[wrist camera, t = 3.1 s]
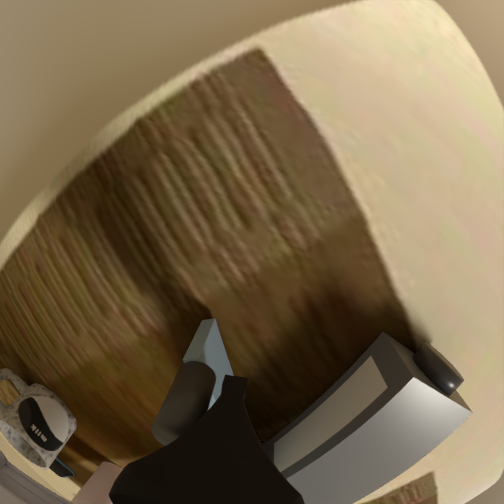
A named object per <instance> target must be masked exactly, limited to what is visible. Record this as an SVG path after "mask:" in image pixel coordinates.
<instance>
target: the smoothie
mask: <svg viewBox="0 0 504 504" xmlns="http://www.w3.org/2000/svg"><path fill="white" fill-rule="evenodd" d="M122 470H123V469H122V468H121V467H119V466H117V465H115V464H113V463H110V462H102V463H101V465H100V466H99V467H98V468H97V470H96V471H95V472H94V473H93V475H92V476H91V477H90V478H89V480H88V481H87V482H86V483H85V485H84V486H83V487H82V488H81V490H80V491H79V492H78V493H77V495H76V496H75V497H74V498H73V499H72V501H71V502H72V503H73V504H113V503H112V502H111V500H110V498H109V495H108V494H109V492H110V490H111V488H112V486H113V483H114V481H115V480H116V478H117V477H118V475H119V474H120V473H121V471H122Z"/></svg>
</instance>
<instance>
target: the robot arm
mask: <svg viewBox="0 0 504 504" xmlns="http://www.w3.org/2000/svg"><path fill="white" fill-rule="evenodd" d="M247 379H248V378H244V377H238V376H232V375H226V374H225V377H224V380H223V383H222V389H221V395H220V396H219V397H218V399H217V400H216V401H215V403H214V404H213V405H212V406H211V408H210V409H209V410H208V411H207V412H206V413H205V414H204V415H203V416H202V417H201V418H200V419H199V420H198V421H197V422H196V423H195V424H194V425H193V426H192V427H191V428H190V429H188V430H187V431H186V432H185V433H183V434H182V435H181V436H179V437H178V438H177V439H175V440H174V441H172V442H171V443H169V444H168V445H166V446H164V447H163V448H161V449H159V450H157V451H156V452H154V453H152V454H150V455H148V456H146V457H143V458H141V459H139V460H136V461H134V462H131V463H129V464H128V465H127V466H126V467H125V468H124V469H123V470H122V471H121V473H120V474H119V475H118V477H117V478H116V480H115V481H114V483H113V486H112V488H111V490H110V492H109V494H108V495H109V498H110V500H111V502H112V503H113V504H305V503H304V500H303V497H302V495H301V494H300V493H299V492H298V491H297V490H296V489H295V488H294V487H293V486H292V485H291V484H290V483H289V482H288V481H287V480H286V478H285V477H284V476H283V475H282V474H281V472H280V471H279V470H278V469H277V467H276V466H275V464H274V463H273V462H272V460H271V459H270V457H269V456H268V454H267V453H266V451H265V449H264V448H263V446H262V444H261V442H260V440H259V438H258V436H257V434H256V432H255V430H254V428H253V425H252V423H251V420H250V417H249V415H248V411H247V408H246V405H245V401H244V399H245V394H246V388H247ZM0 504H73V503H72V502H70V501H68V500H66V499H64V498H63V497H61V496H59V495H57V494H56V493H54V492H52V491H51V490H49V489H47V488H46V487H44V486H43V485H41V484H39V483H38V482H36V481H35V480H33V479H32V478H30V477H29V476H27V475H26V474H25V473H23V472H22V471H20V470H19V469H18V468H16V467H15V466H14V465H12V464H11V463H10V462H8V461H7V459H6V457H5V456H4V454H3V453H2V452H1V451H0Z"/></svg>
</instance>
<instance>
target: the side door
mask: <svg viewBox="0 0 504 504" xmlns="http://www.w3.org/2000/svg"><path fill="white" fill-rule="evenodd" d="M183 362H184V364H183V365H182V366H181V367H180V369H179V371H178V373H177V375H176V377H175V379H174V381H173V383H172V386H171V388H170V390H169V392H168V394H167V396H166V398H165V400H164V402H163V404H162V407H161V409H160V411H159V413H158V415H157V417H156V419H155V421H154V424H153V426H152V428H151V431H152V434H153V436H154V437H155V439H156V440H157V441H158V442H160V443H161V444H162V445H164V446H166V445H168V444H169V443H171V442H172V441H174V440H175V439H177V438H178V437H179V436H181V435H182V434H183V433H185V432H186V431H187V430H188V429H190V428H191V427H192V426H193V425H194V424H195V423H196V422H197V421H198V420H199V419H200V418H201V417H202V416H203V415H204V414H205V413H206V412H207V411H208V410H209V409H210V408H211V406H212V405H213V404H214V403H215V401H216V400H217V399H218V397H219V396H220V395H221V389H222V383H223V380H224V377H225V374H226V375H232V376H234V375H233V372H232V369H231V366H230V363H229V360H228V357H227V354H226V351H225V348H224V345H223V342H222V339H221V336H220V332H219V329H218V326H217V323H216V320H215V318H214V319H207V320H202V322H201V324H200V326H199V328H198V330H197V332H196V334H195V336H194V338H193V340H192V342H191V344H190V346H189V348H188V350H187V352H186V354H185V356H184V358H183Z"/></svg>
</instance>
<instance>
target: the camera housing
mask: <svg viewBox="0 0 504 504" xmlns="http://www.w3.org/2000/svg"><path fill="white" fill-rule="evenodd" d="M463 381H464V379H463V377H462V376H461V375H460V373H459V372H458V371H457V370H456V369H455V367H454V366H453V365H452V364H451V363H450V362H449V361H448V360H447V359H446V358H445V357H444V356H443V355H442V354H440V353H439V352H438V351H437V350H436V349H435V348H434V347H432V346H431V345H430V344H428V343H427V342H424V343H423V345H422V346H421V347H420V348H419V349H418V350H417V352H416V353H413V352H412V351H410V350H409V349H407V348H406V347H405V346H403V345H402V344H400V343H399V342H397V341H396V340H395V339H393V338H392V337H390V336H389V335H387V334H386V333H385V332H382V333H381V334H380V335H379V336H378V338H377V339H376V340H375V341H374V342H373V343H372V344H371V345H370V347H369V348H368V349H367V350H366V351H365V352H364V353H363V354H362V355H361V356H360V358H359V359H358V360H357V361H356V362H355V363H354V364H353V365H352V366H351V367H350V368H349V369H348V370H347V371H346V372H345V373H344V374H343V375H342V376H341V377H340V378H339V379H338V380H337V381H336V382H335V383H334V384H333V385H332V386H331V387H330V388H329V389H328V390H327V391H326V392H325V393H324V394H323V395H322V396H321V397H319V398H318V399H317V400H316V401H315V402H314V403H313V404H312V405H311V406H310V407H308V408H307V409H306V410H305V411H304V412H303V413H302V414H300V415H299V416H298V417H297V418H296V419H295V420H293V421H292V422H291V423H290V424H289V425H287V426H286V427H285V428H284V429H283V430H281V431H280V432H279V433H278V434H276V435H275V436H274V437H272V438H271V439H270V440H269V441H267V442H266V443H265V444H263V445H262V446H263V448H264V449H265V451H266V453H267V454H268V456H269V457H270V459H271V460H272V462H273V463H274V464H275V466H276V467H277V469H278V470H279V471H280V472H281V474H282V475H283V476H284V477H285V478H286V480H287V481H288V482H289V483H290V484H291V485H292V486H293V487H294V488H295V489H296V490H297V491H298V492H299V493H300V494H301V495H302V497H303V500H304V503H305V504H353V503H354V502H356V501H358V500H360V499H362V498H364V497H365V496H367V495H369V494H370V493H372V492H374V491H375V490H377V489H379V488H380V487H382V486H383V485H385V484H387V483H388V482H390V481H391V480H393V479H394V478H396V477H397V476H399V475H400V474H402V473H403V472H404V471H406V470H407V469H409V468H410V467H411V466H413V465H414V464H415V463H417V462H418V461H419V460H421V459H422V458H423V457H424V456H426V455H427V454H428V453H429V452H431V451H432V450H433V449H434V448H436V447H437V446H438V445H439V444H440V443H441V442H443V441H444V440H445V439H446V438H447V437H448V436H449V435H450V434H452V433H453V432H454V431H455V430H456V429H457V428H458V427H459V426H460V425H461V424H462V423H463V422H464V421H465V420H466V419H467V418H468V417H469V416H470V415H471V414H472V413H473V412H472V411H471V410H470V408H469V407H468V406H467V404H466V403H465V401H464V400H463V399H462V397H461V396H460V395H459V393H458V392H457V391H456V389H457V388H458V387H459V386H460V385H461V384H462V382H463Z"/></svg>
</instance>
